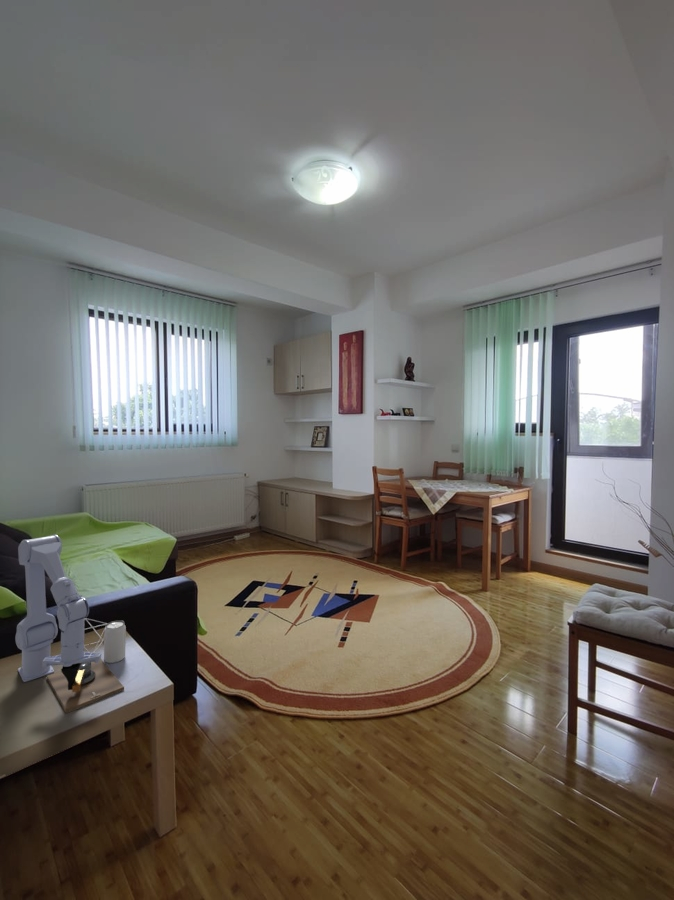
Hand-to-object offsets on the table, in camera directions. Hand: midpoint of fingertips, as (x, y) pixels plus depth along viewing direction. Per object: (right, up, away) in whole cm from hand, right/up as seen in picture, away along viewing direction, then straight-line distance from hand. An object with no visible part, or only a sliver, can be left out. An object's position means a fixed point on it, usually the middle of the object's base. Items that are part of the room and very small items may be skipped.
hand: (71, 687), depth 119 cm
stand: (0, -3, +7) cm, 7 cm away
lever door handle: (0, -2, +4) cm, 4 cm away
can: (+1, -3, +21) cm, 21 cm away
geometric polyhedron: (-12, -2, +27) cm, 29 cm away
